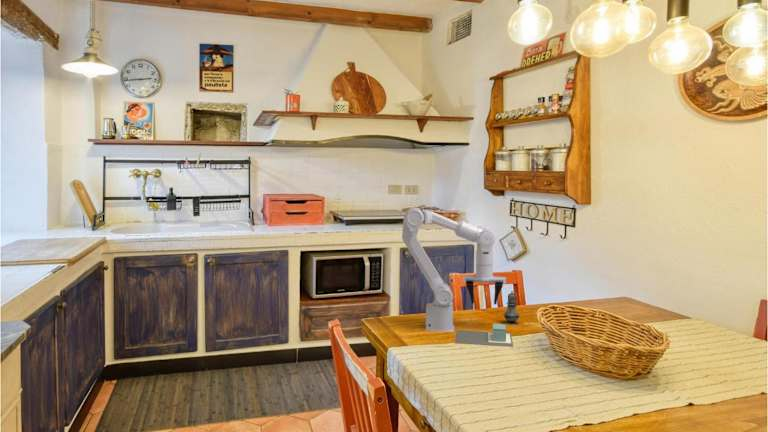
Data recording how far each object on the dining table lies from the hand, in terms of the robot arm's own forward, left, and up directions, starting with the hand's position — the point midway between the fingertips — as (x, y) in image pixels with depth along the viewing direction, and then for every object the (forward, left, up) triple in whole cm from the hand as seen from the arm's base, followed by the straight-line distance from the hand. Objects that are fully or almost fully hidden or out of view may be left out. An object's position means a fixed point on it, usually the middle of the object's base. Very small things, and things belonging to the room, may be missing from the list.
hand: (483, 303), depth 171 cm
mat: (0, -11, -9) cm, 14 cm away
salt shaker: (+10, +10, -10) cm, 17 cm away
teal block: (+5, -10, -9) cm, 14 cm away
